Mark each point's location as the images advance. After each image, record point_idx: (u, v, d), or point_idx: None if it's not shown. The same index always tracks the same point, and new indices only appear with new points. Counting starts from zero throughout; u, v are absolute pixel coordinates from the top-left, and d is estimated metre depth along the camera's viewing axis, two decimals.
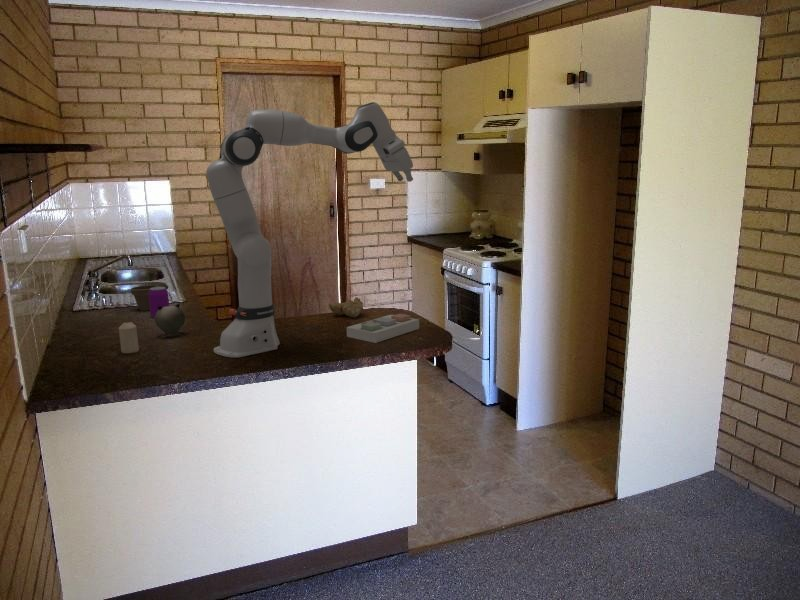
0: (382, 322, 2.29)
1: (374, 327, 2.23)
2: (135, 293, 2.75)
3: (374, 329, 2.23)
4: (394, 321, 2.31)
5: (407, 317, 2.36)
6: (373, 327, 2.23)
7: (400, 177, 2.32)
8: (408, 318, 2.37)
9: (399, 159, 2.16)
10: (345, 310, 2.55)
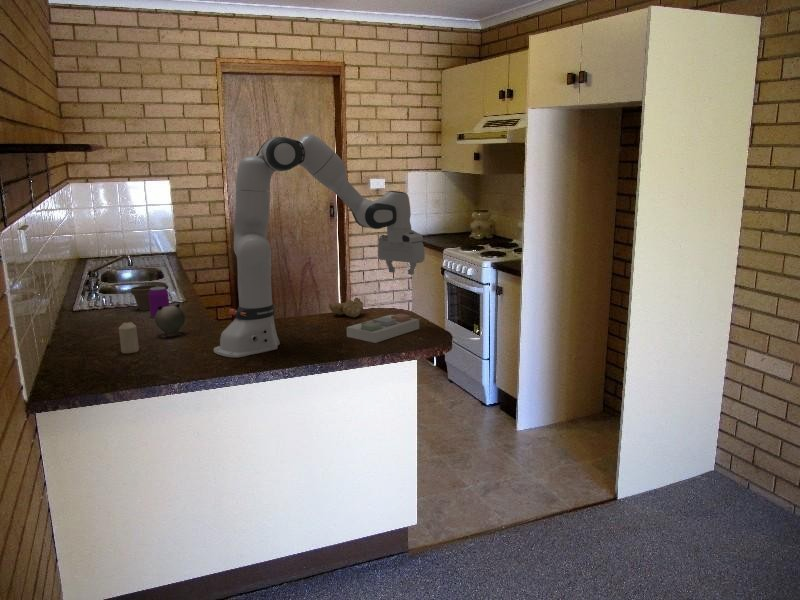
0: (382, 322, 2.29)
1: (374, 327, 2.23)
2: (135, 293, 2.75)
3: (374, 329, 2.23)
4: (394, 321, 2.31)
5: (407, 317, 2.36)
6: (373, 327, 2.23)
7: (393, 269, 2.37)
8: (408, 318, 2.37)
9: (417, 250, 2.25)
10: (345, 310, 2.55)
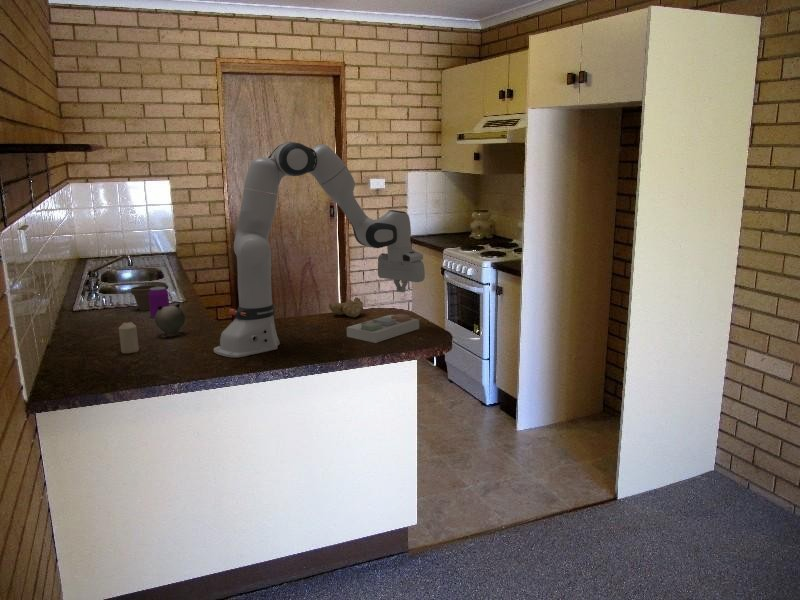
0: (382, 322, 2.29)
1: (374, 327, 2.23)
2: (135, 293, 2.75)
3: (374, 329, 2.23)
4: (394, 321, 2.31)
5: (407, 317, 2.36)
6: (373, 327, 2.23)
7: None
8: (408, 318, 2.37)
9: (417, 269, 2.26)
10: (345, 310, 2.55)
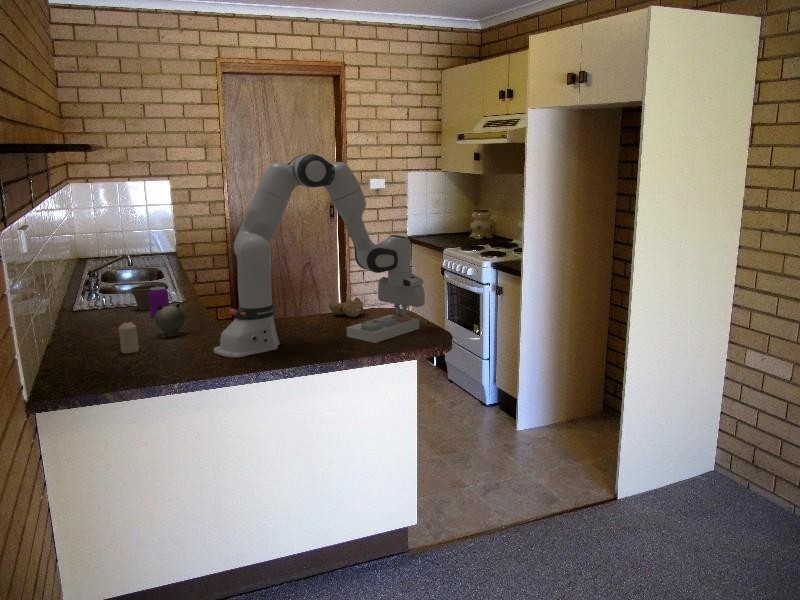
0: (382, 322, 2.29)
1: (374, 327, 2.23)
2: (135, 293, 2.75)
3: (374, 329, 2.23)
4: (394, 321, 2.31)
5: (407, 317, 2.36)
6: (373, 327, 2.23)
7: None
8: (408, 318, 2.37)
9: (417, 294, 2.28)
10: (345, 310, 2.55)
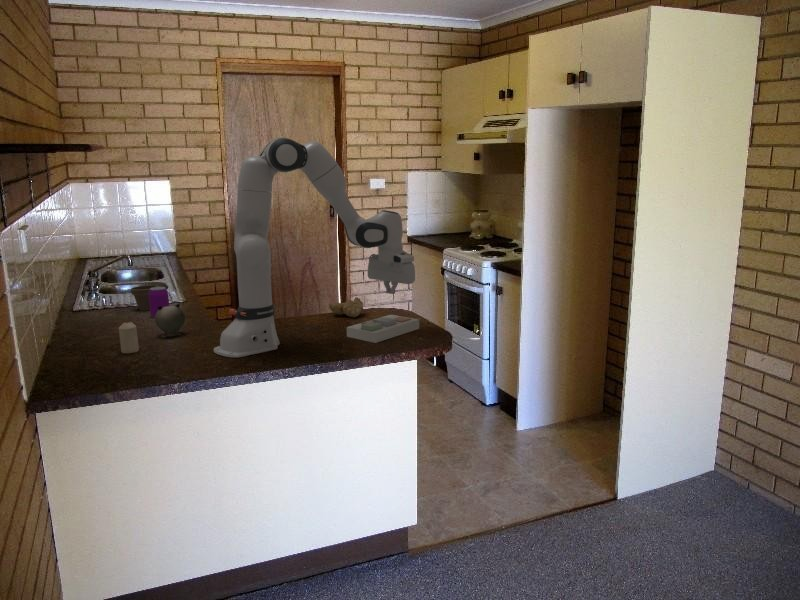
0: (382, 322, 2.29)
1: (374, 327, 2.23)
2: (135, 293, 2.75)
3: (374, 329, 2.23)
4: (394, 321, 2.31)
5: (407, 320, 2.37)
6: (373, 327, 2.23)
7: None
8: None
9: (408, 271, 2.23)
10: (345, 310, 2.55)
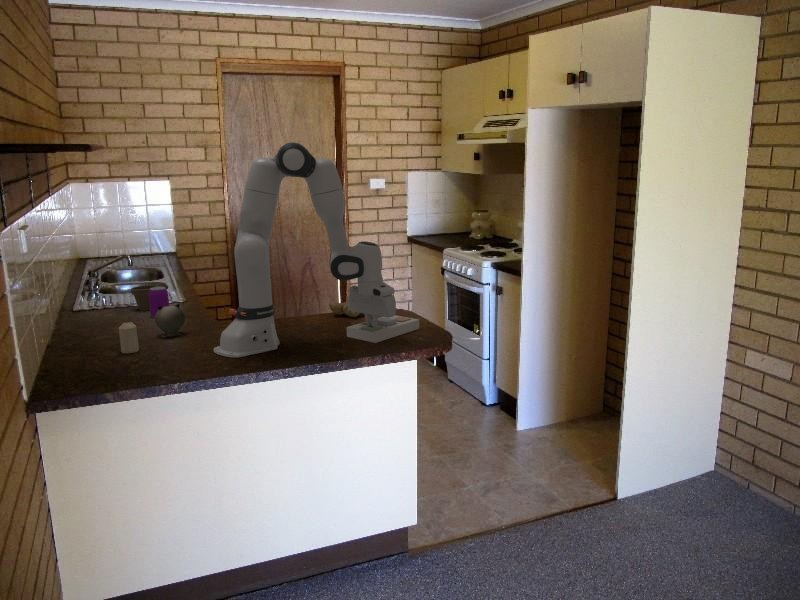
0: (382, 322, 2.29)
1: (374, 329, 2.23)
2: (135, 293, 2.75)
3: None
4: (394, 321, 2.31)
5: (407, 320, 2.37)
6: (373, 329, 2.23)
7: None
8: None
9: (388, 304, 2.16)
10: (345, 310, 2.55)
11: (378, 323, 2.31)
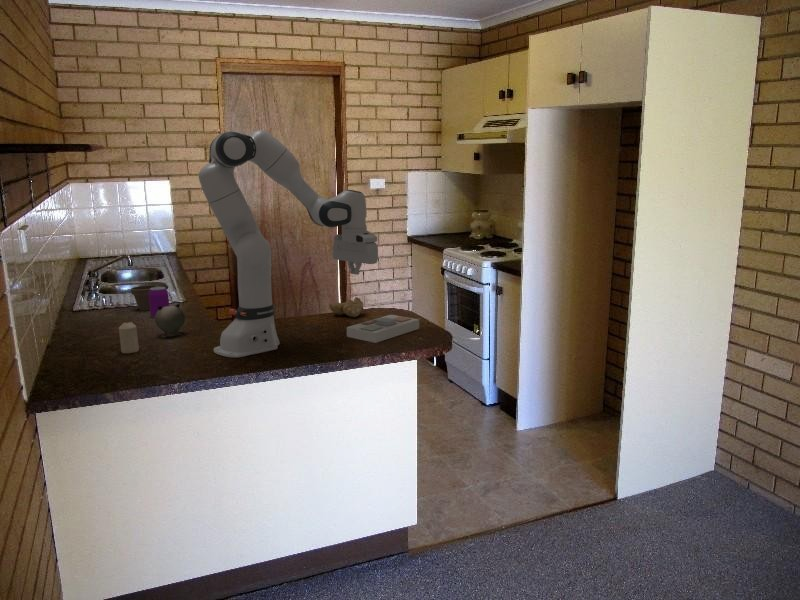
0: (382, 322, 2.29)
1: (374, 330, 2.23)
2: (135, 293, 2.75)
3: None
4: (394, 321, 2.31)
5: (407, 320, 2.37)
6: (373, 330, 2.23)
7: None
8: None
9: (370, 251, 2.21)
10: (345, 310, 2.55)
11: (378, 323, 2.31)
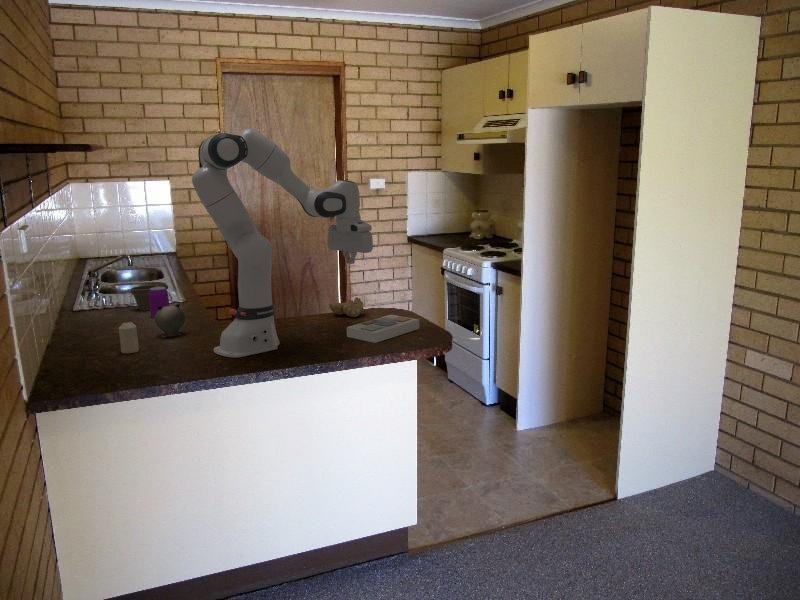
0: (382, 322, 2.29)
1: (374, 330, 2.23)
2: (135, 293, 2.75)
3: None
4: (394, 321, 2.31)
5: (407, 320, 2.37)
6: (373, 330, 2.23)
7: None
8: None
9: (365, 239, 2.23)
10: (345, 310, 2.55)
11: (378, 323, 2.31)
